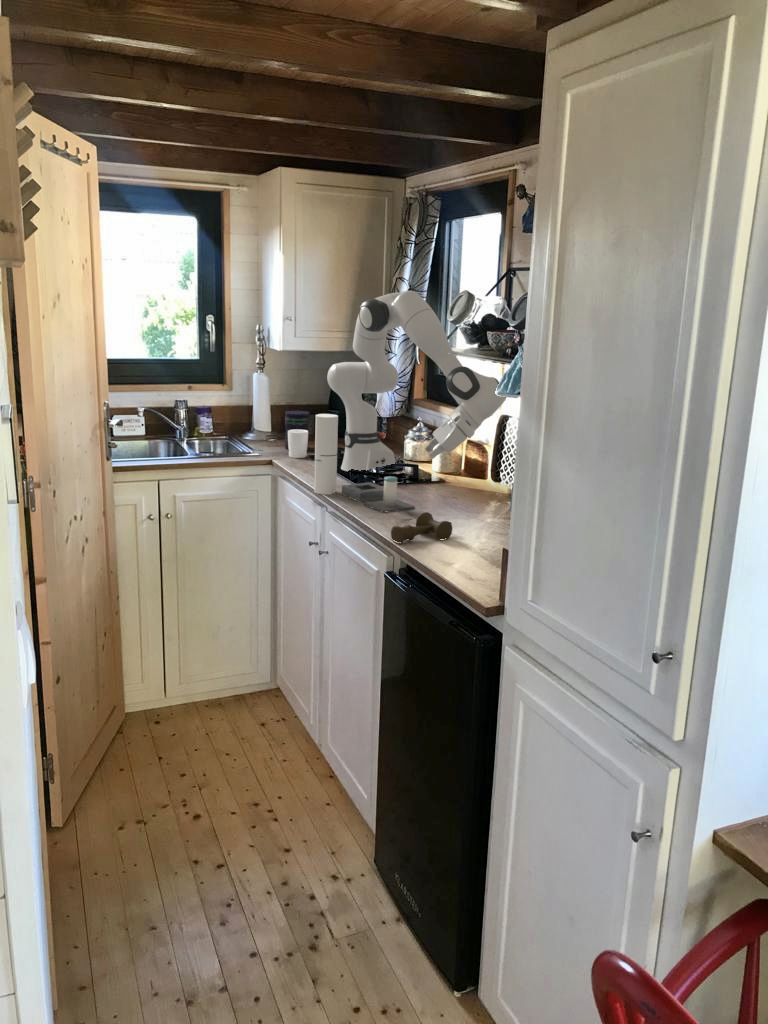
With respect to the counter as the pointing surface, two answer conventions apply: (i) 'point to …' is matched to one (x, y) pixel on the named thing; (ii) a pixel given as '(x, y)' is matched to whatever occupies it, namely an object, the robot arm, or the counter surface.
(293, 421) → the storage jar
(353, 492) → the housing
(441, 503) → the counter surface
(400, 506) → the mat
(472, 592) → the counter surface
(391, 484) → the white bottle teal cap
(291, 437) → the white cup
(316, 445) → the cylindrical container
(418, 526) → the kendama
